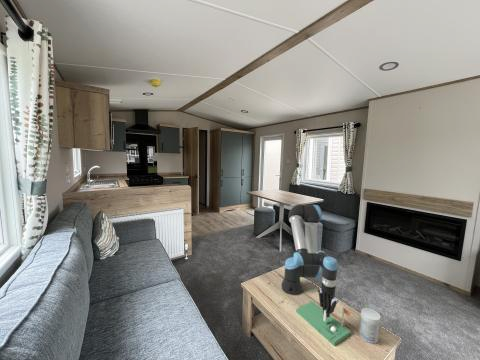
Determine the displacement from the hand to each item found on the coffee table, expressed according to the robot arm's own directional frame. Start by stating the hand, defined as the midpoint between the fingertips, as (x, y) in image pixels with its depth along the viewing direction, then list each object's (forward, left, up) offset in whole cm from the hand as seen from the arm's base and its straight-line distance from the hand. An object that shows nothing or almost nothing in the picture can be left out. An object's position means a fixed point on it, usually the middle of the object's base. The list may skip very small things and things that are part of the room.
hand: (325, 320), depth 127 cm
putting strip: (-3, 0, -4) cm, 5 cm away
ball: (+5, 0, -2) cm, 6 cm away
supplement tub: (+17, +15, -4) cm, 23 cm away
